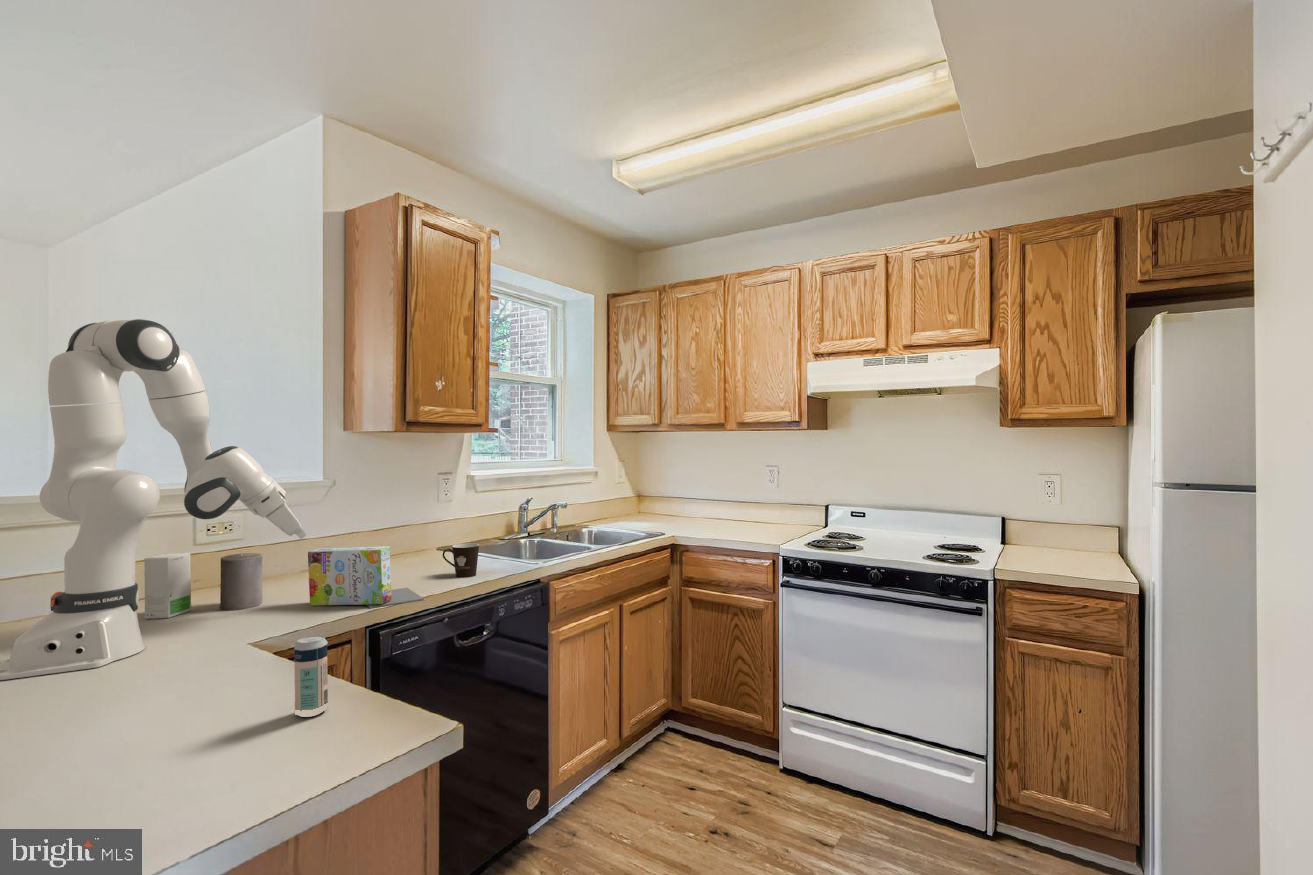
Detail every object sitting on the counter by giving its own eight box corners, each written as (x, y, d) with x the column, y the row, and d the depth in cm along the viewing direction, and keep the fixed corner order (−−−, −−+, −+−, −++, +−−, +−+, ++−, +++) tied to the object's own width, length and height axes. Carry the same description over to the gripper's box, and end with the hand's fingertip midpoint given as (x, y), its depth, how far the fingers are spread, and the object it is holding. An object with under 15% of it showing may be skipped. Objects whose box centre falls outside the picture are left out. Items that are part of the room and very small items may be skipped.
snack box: (393, 599, 170) (390, 545, 170) (382, 605, 164) (379, 549, 164) (321, 600, 172) (319, 547, 172) (308, 606, 166) (305, 551, 166)
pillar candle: (212, 607, 166) (212, 552, 166) (250, 599, 175) (250, 547, 175) (232, 612, 162) (232, 555, 162) (270, 603, 170) (270, 549, 170)
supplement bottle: (321, 704, 103) (320, 632, 103) (333, 711, 99) (332, 637, 100) (289, 714, 99) (288, 639, 99) (301, 722, 96) (300, 645, 96)
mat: (370, 608, 163) (370, 606, 163) (356, 596, 177) (356, 594, 177) (423, 599, 172) (423, 598, 172) (407, 588, 185) (407, 587, 185)
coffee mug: (485, 574, 204) (484, 544, 205) (464, 579, 197) (464, 548, 197) (461, 570, 211) (461, 541, 211) (440, 575, 203) (440, 545, 203)
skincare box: (168, 618, 156) (167, 557, 156) (142, 619, 156) (141, 558, 156) (192, 610, 164) (192, 552, 164) (168, 610, 164) (167, 552, 164)
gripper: (250, 498, 165) (286, 534, 171) (259, 514, 149) (298, 554, 155) (271, 483, 167) (306, 519, 174) (282, 497, 151) (320, 536, 158)
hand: (303, 535), depth 164 cm, fingers closed
